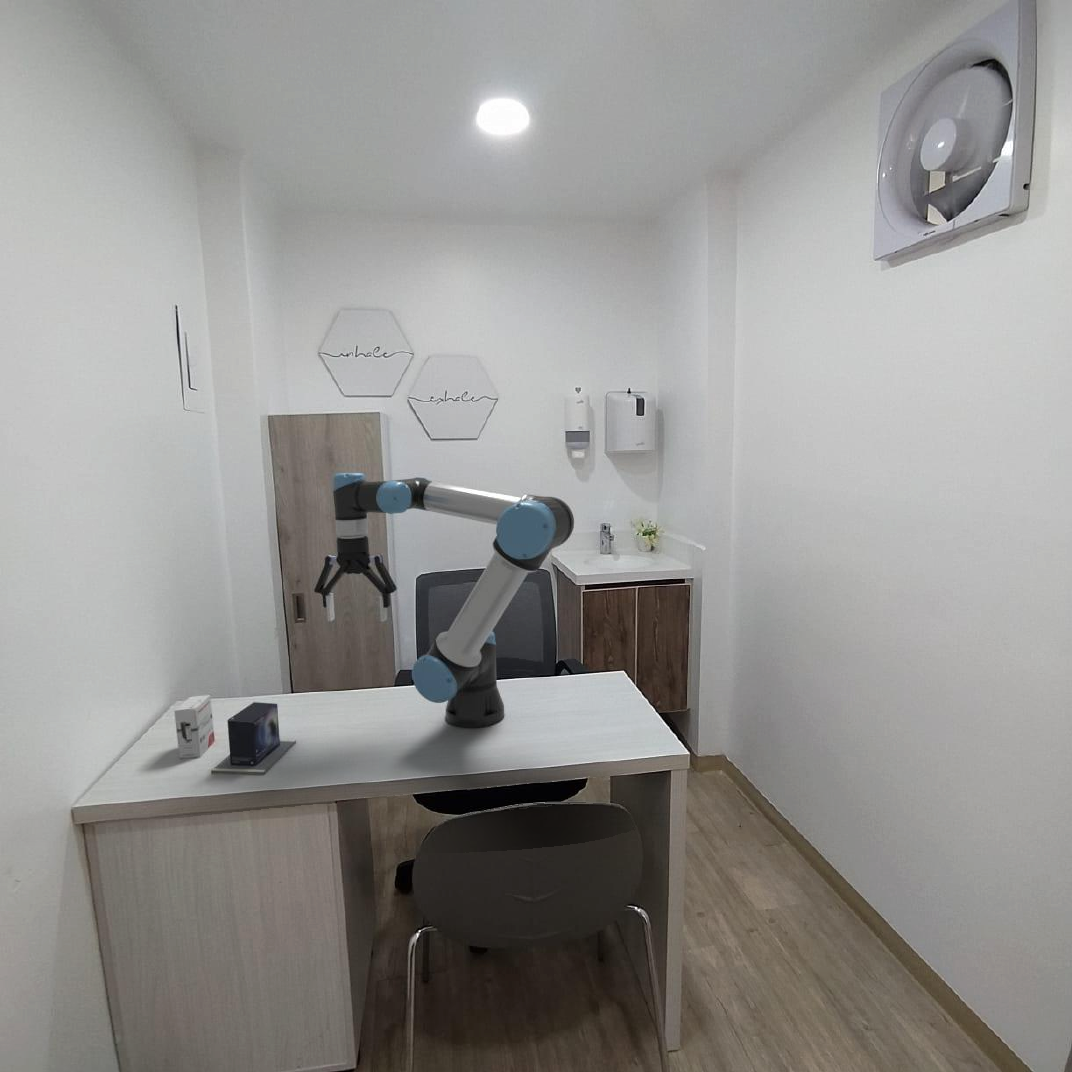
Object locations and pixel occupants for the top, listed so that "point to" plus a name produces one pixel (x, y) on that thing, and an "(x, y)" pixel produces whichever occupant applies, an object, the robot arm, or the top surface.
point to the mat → (260, 767)
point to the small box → (253, 733)
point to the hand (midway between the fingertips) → (357, 620)
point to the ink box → (194, 726)
